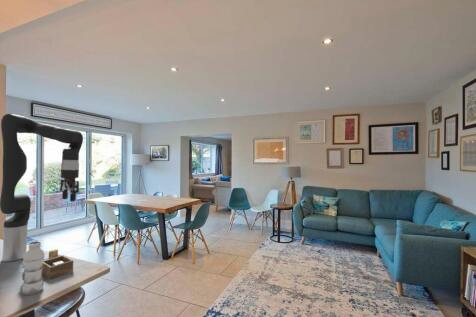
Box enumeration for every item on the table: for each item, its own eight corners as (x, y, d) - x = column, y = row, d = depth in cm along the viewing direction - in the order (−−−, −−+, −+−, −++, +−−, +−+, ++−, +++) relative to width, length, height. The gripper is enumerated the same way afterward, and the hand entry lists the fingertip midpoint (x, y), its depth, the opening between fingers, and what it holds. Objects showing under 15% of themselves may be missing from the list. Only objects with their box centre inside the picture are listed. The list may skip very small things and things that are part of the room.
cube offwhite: (51, 270, 111) (51, 262, 111) (60, 267, 114) (60, 260, 114) (54, 272, 109) (55, 264, 109) (63, 269, 112) (63, 262, 112)
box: (40, 274, 108) (40, 261, 108) (62, 267, 116) (63, 255, 116) (49, 281, 103) (50, 267, 103) (72, 273, 111) (73, 260, 111)
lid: (36, 265, 117) (36, 251, 117) (59, 259, 125) (59, 245, 125) (45, 271, 111) (46, 256, 111) (69, 264, 120) (69, 250, 120)
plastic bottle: (30, 298, 90) (33, 246, 90) (16, 296, 92) (19, 244, 92) (47, 289, 97) (49, 241, 97) (34, 287, 98) (36, 239, 98)
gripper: (55, 168, 122) (54, 199, 122) (68, 169, 115) (67, 202, 115) (71, 168, 129) (70, 197, 129) (85, 169, 121) (83, 200, 121)
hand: (68, 200), depth 122 cm, fingers open, 8 cm apart
